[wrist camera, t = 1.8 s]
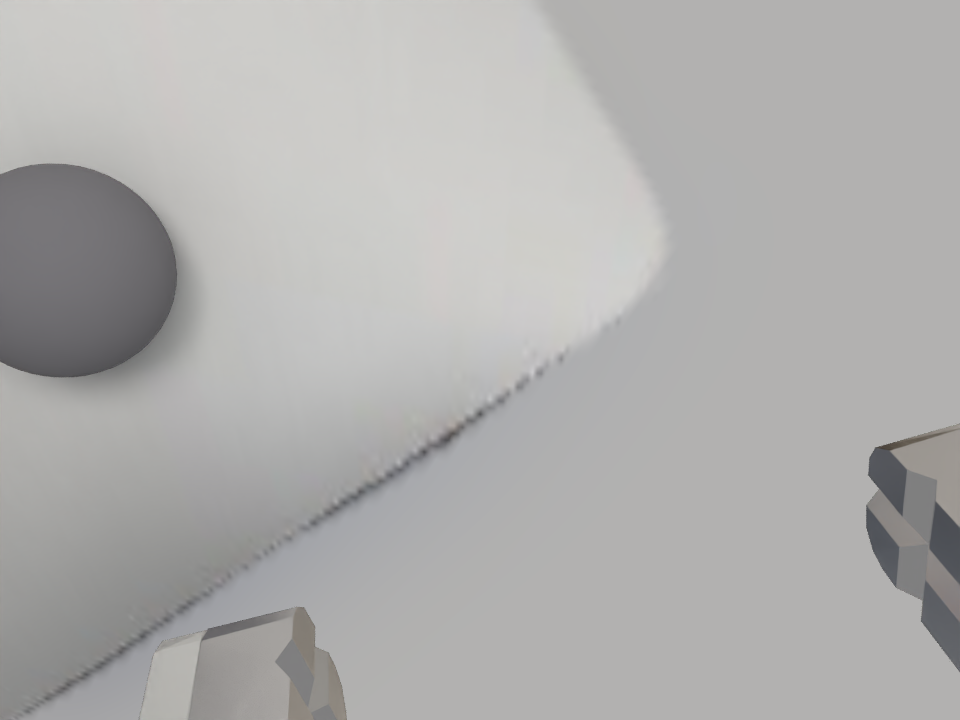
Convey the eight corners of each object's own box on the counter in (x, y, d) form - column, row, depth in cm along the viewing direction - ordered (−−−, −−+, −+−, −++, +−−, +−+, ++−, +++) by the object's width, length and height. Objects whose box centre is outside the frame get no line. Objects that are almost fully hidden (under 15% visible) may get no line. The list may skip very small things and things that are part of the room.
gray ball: (-41, 267, 22) (-127, 370, 18) (17, 98, 20) (-67, 169, 16) (150, 339, 24) (112, 447, 20) (219, 192, 22) (193, 277, 18)
